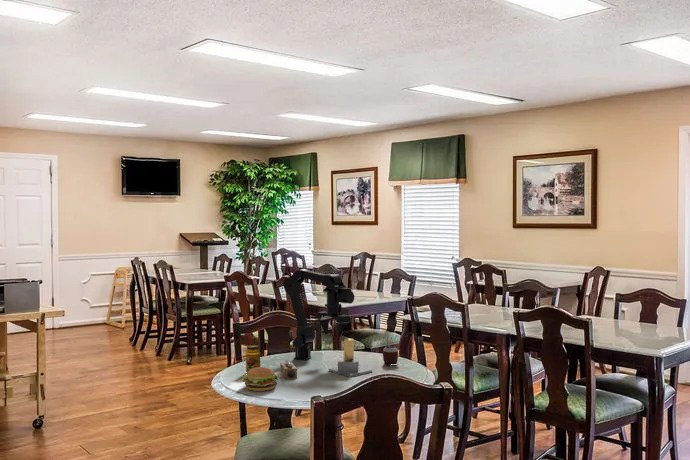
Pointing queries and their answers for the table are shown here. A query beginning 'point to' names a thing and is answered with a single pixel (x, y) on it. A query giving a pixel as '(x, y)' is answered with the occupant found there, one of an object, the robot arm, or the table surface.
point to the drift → (288, 363)
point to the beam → (288, 371)
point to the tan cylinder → (348, 349)
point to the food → (260, 379)
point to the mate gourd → (390, 354)
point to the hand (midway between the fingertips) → (333, 335)
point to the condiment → (252, 357)
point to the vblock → (350, 368)
